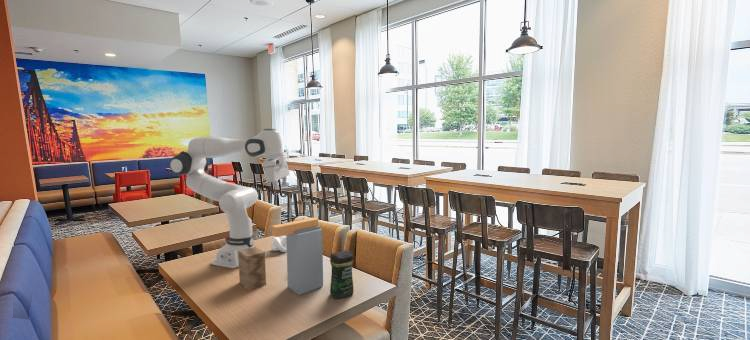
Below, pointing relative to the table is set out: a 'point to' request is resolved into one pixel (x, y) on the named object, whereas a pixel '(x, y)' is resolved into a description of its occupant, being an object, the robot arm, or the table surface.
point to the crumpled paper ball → (279, 244)
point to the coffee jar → (341, 274)
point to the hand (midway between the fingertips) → (281, 187)
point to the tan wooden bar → (293, 226)
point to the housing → (305, 260)
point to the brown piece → (252, 267)
